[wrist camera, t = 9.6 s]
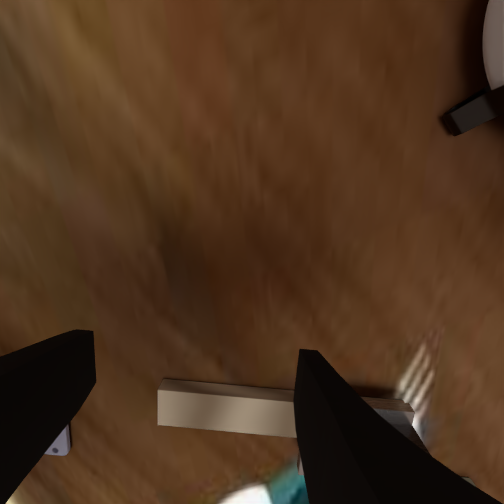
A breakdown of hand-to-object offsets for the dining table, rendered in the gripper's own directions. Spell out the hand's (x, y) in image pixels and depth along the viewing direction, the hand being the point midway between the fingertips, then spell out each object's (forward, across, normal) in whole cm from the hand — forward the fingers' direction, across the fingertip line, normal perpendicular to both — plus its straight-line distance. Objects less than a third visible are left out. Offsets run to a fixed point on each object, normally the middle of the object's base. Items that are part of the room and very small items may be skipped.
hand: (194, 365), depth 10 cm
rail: (+10, -4, +10) cm, 15 cm away
